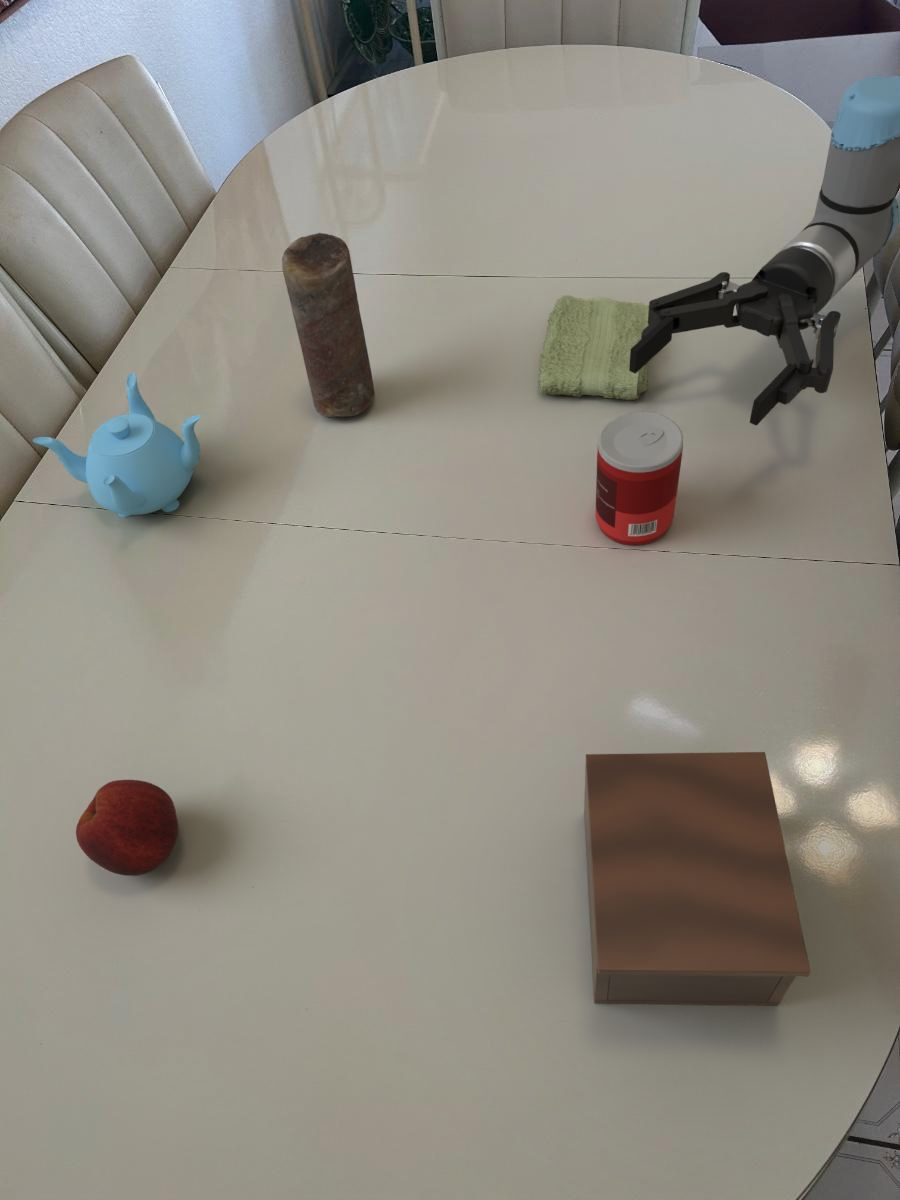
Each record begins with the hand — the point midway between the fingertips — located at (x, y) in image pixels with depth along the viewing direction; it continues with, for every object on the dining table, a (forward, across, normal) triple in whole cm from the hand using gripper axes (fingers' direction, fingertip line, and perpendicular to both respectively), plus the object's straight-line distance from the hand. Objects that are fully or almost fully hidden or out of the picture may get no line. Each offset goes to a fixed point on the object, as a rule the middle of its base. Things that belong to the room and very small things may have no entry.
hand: (691, 386), depth 90 cm
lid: (+40, -25, -1) cm, 47 cm away
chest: (+40, -25, -11) cm, 48 cm away
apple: (+63, +11, -11) cm, 65 cm away
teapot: (+37, +46, -11) cm, 60 cm away
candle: (+13, +38, -11) cm, 41 cm away
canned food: (+9, 0, -11) cm, 14 cm away
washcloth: (-11, +19, -11) cm, 24 cm away
